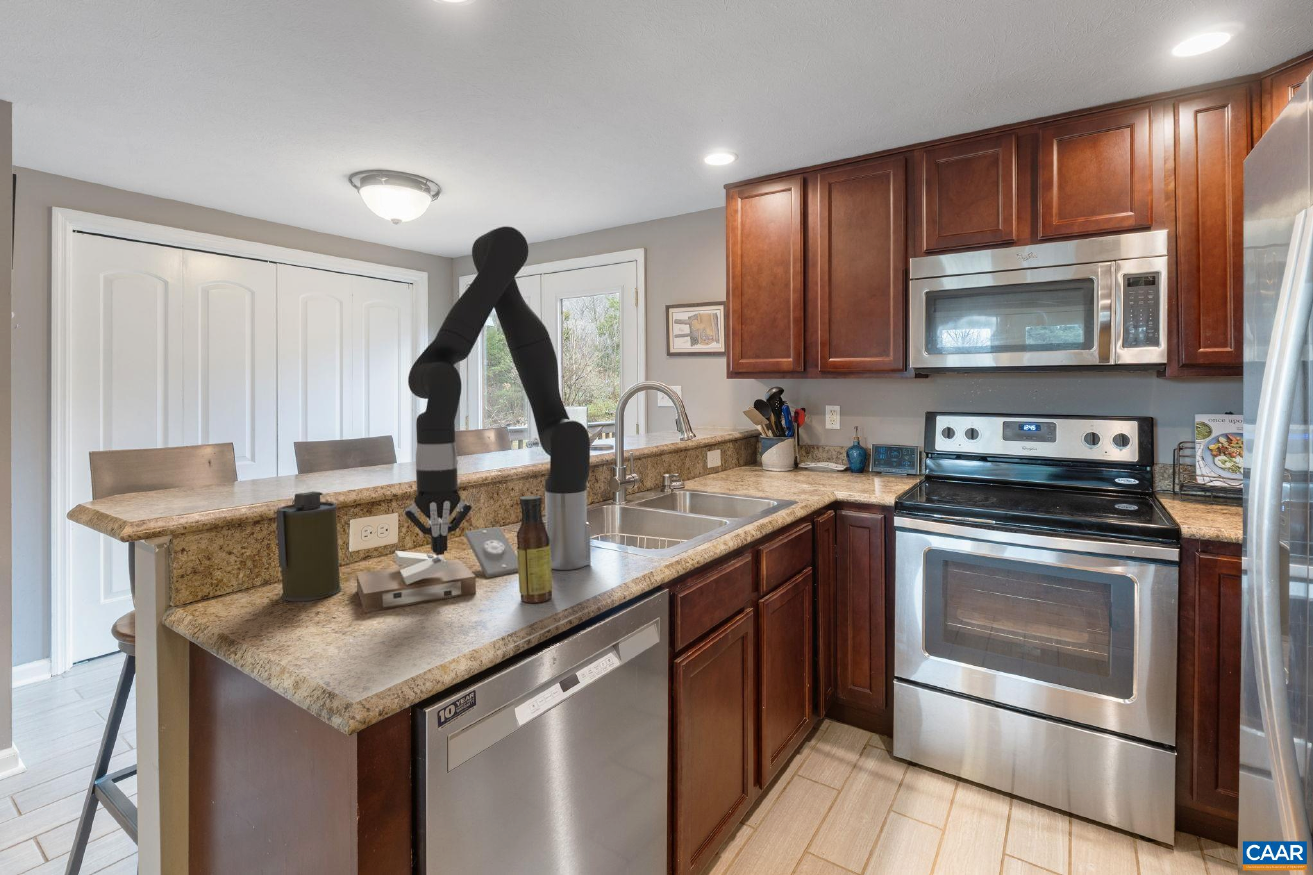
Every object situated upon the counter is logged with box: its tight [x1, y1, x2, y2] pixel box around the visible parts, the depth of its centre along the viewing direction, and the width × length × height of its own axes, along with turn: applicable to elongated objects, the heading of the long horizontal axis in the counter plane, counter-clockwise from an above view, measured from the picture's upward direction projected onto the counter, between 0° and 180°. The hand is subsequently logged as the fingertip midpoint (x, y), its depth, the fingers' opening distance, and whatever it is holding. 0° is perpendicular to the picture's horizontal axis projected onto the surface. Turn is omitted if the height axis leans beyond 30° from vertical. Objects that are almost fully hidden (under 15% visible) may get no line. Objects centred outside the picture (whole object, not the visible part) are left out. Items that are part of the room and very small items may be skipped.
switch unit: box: [355, 558, 477, 613], centre depth 124 cm, size 20×15×4 cm
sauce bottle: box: [516, 494, 553, 604], centre depth 120 cm, size 6×6×20 cm
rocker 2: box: [400, 555, 449, 585], centre depth 121 cm, size 8×5×2 cm, turn 120°
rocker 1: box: [393, 550, 437, 566], centre depth 128 cm, size 8×5×2 cm, turn 122°
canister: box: [275, 491, 342, 603], centre depth 123 cm, size 11×10×20 cm
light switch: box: [464, 526, 518, 579], centre depth 142 cm, size 8×6×14 cm
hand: (439, 553), depth 123 cm, fingers closed
